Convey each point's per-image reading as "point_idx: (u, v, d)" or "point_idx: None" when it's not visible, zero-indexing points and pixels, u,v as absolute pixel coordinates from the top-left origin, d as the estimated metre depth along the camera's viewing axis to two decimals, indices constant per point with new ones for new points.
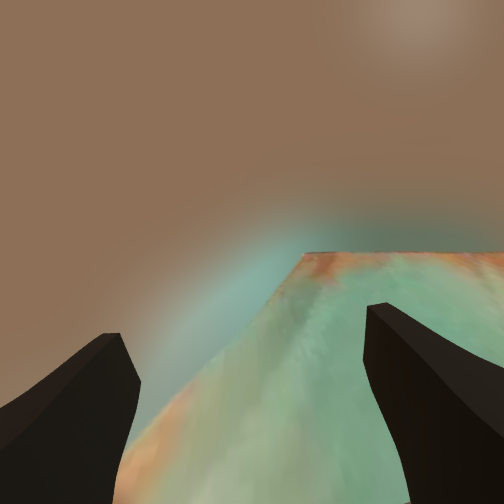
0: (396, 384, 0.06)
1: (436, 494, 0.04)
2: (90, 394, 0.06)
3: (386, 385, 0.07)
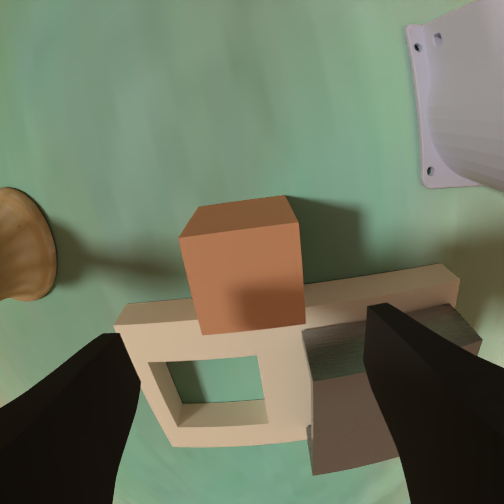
0: (396, 384, 0.06)
1: (436, 494, 0.04)
2: (90, 394, 0.06)
3: (386, 385, 0.07)
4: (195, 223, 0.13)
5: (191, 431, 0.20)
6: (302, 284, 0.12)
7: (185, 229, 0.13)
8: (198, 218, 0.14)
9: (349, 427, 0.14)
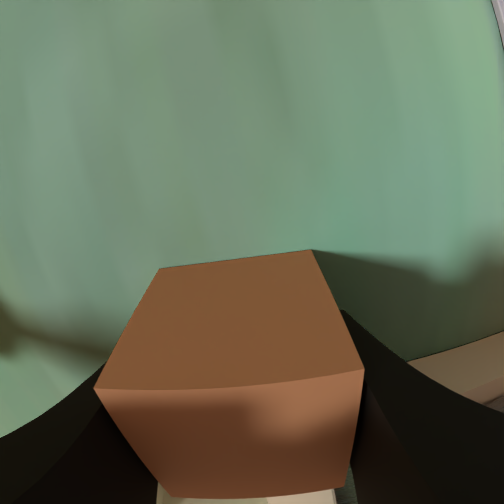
0: None
1: None
2: None
3: None
4: (138, 332, 0.06)
5: None
6: (349, 452, 0.05)
7: (114, 352, 0.06)
8: (148, 312, 0.07)
9: None
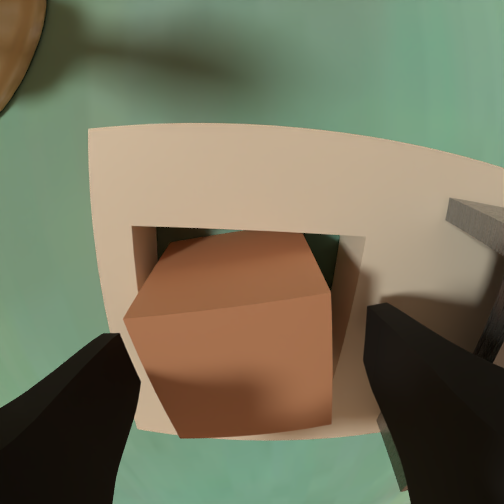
0: (396, 384, 0.06)
1: (436, 494, 0.04)
2: (90, 394, 0.06)
3: (386, 385, 0.07)
4: (157, 281, 0.08)
5: None
6: (330, 380, 0.07)
7: (138, 295, 0.07)
8: (164, 269, 0.09)
9: None
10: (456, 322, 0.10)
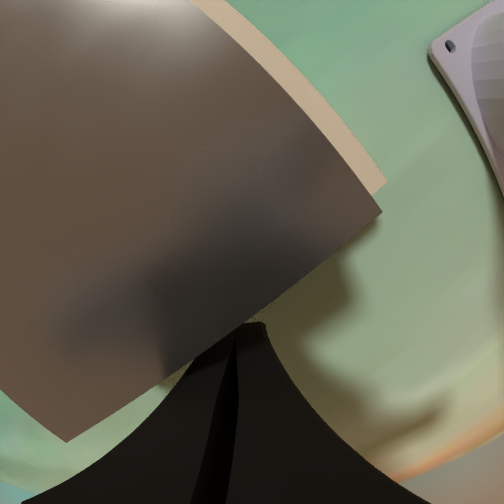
0: None
1: None
2: (231, 394, 0.06)
3: None
4: None
5: None
6: None
7: None
8: None
9: None
10: None
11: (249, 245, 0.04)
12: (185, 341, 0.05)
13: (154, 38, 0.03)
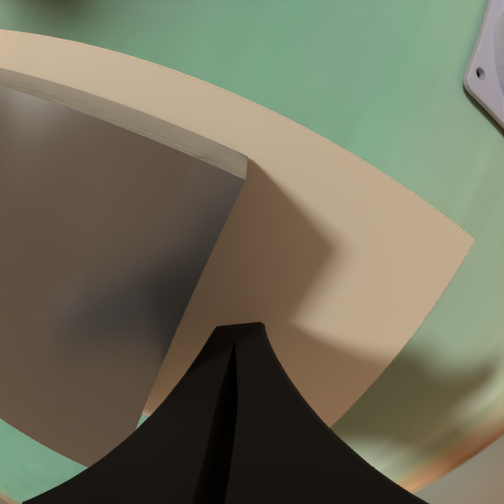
0: None
1: None
2: (232, 394, 0.06)
3: None
4: None
5: None
6: None
7: None
8: None
9: None
10: None
11: (141, 263, 0.04)
12: (141, 362, 0.05)
13: (9, 133, 0.04)
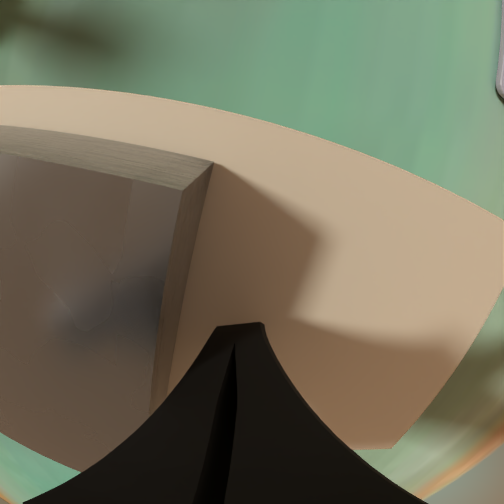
0: None
1: None
2: (232, 394, 0.06)
3: None
4: None
5: None
6: None
7: None
8: None
9: None
10: (295, 336, 0.10)
11: (109, 285, 0.04)
12: (133, 377, 0.05)
13: None
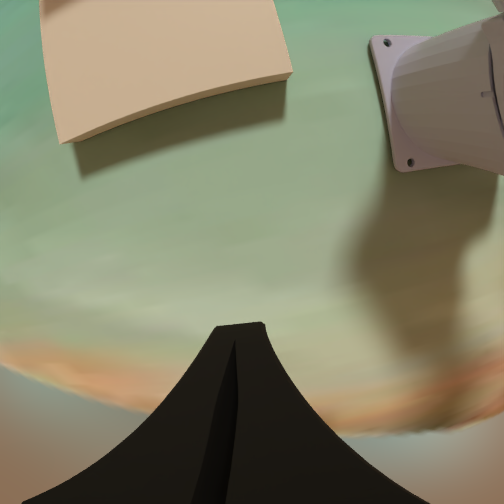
0: None
1: None
2: (231, 394, 0.06)
3: None
4: None
5: None
6: None
7: None
8: None
9: None
10: None
11: None
12: None
13: None
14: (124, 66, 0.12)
